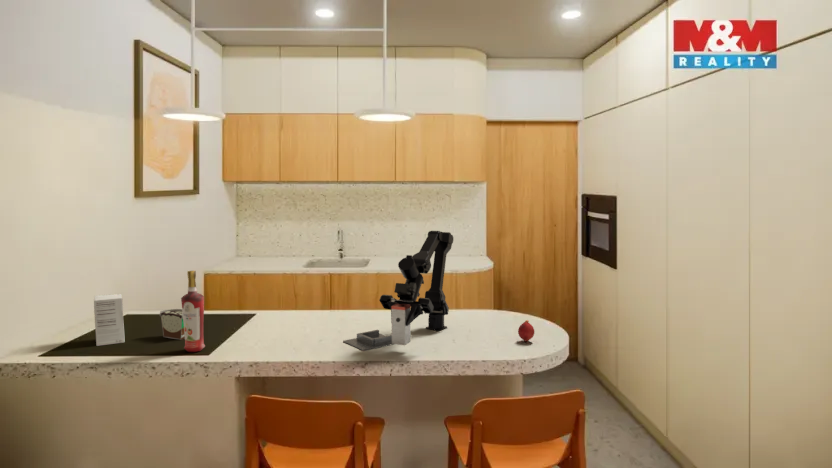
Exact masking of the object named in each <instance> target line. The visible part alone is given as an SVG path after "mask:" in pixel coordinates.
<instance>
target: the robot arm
mask: <svg viewBox="0 0 832 468" xmlns="http://www.w3.org/2000/svg"><path fill="white" fill-rule="evenodd" d="M453 243H454V236H453V234H452V233H451V232H450V231H449V232H448V231H447V232H446V231H440V230H429V231H428V233H427V237H426V238H425V240H424V243H423V244H422V246H421V247H420V250H419V251H418V252H417V253H415V254H413V255H408V254H407V255H405V257H403V258H402V259H400V261H399V262H398V264H397V266H398V268H399V271H400V272H401V275H402V276H403V278H404V279H406V280H405V283H399V282H396V283H395V285H394V293H396V294H397V295H396V296H397V298H399V299H396V298H395V297H393V295H392V294H382V295H380V298H379V302H380V304H381V305H382V308H383V309H385V310H389V311H390V322H391V324H392V312H391V306H393V305H395V304H408V305H410V313H409V315H408V318H407V321H406V326H408V325H409V324H410V325H411V324H412V323H413V322H414V320H415V319H417V318H418V317H419V316H421V315H423V314H425V315H426V314H428V320H427V321H428V326H426V327H425V329H427V330H432V331H436V332H439V331H442V330H445V329H448V326H445V315H446V316H447V315H449V309H450V308H449V305H448V303H447V301H446V295H445V292H444V290H443V287H444V280H445V278H444V277H445V271H446V270H445V269H446V260H447V254H448V253H449V252H450V250H452V246H453ZM433 254H434V257H433ZM432 257H433V264H432V262H431V258H432ZM431 268H432V272H431V273H432V274H431V281H430V282H431V283H430V288H429V289H428V290H426V291H425V293H424V297H420V295H421V294H420V290H421V288H422V284H423V285H424V284H425V281H424V276H423V274H427V275H428V273H429V272H430V270H431ZM418 297H419V298H418ZM417 299H418V300H417Z"/></svg>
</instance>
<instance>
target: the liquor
mask: <svg viewBox="0 0 832 468" xmlns="http://www.w3.org/2000/svg"><path fill="white" fill-rule="evenodd" d="M186 274H187V279H188V281H187V293H186V294H184V295H183V296H182V297H181V298H180V299H181V309H182V314H183V322H184V334H185V338H184V347H183V349H184V350H185V351H186V352H188V353H197V352H198V353H199V352H201V351H202V350H203V349H204V348H205V347H206V345H205V341H204V339H205V337H204V316H205V315H204V314H205V307H204V306H205V296H204V295H202V293H199V292H198V291H197V289H198V288H197V283H196V277H197V272H196V270H187V273H186Z"/></svg>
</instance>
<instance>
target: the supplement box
mask: <svg viewBox="0 0 832 468" xmlns="http://www.w3.org/2000/svg"><path fill="white" fill-rule="evenodd" d="M93 310H94V311H93V313H94V314H93V315H94V328H95V329H94V330H95V342H96V343H95V344H96V346H97V347H98V346H106V345H113V344H122V343H125V342H126V341H125V325H124V323H125V322H124V303H123V295H122V293H115V294H104V295H103V294H102V295H100V294H99V295H94V296H93Z"/></svg>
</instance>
